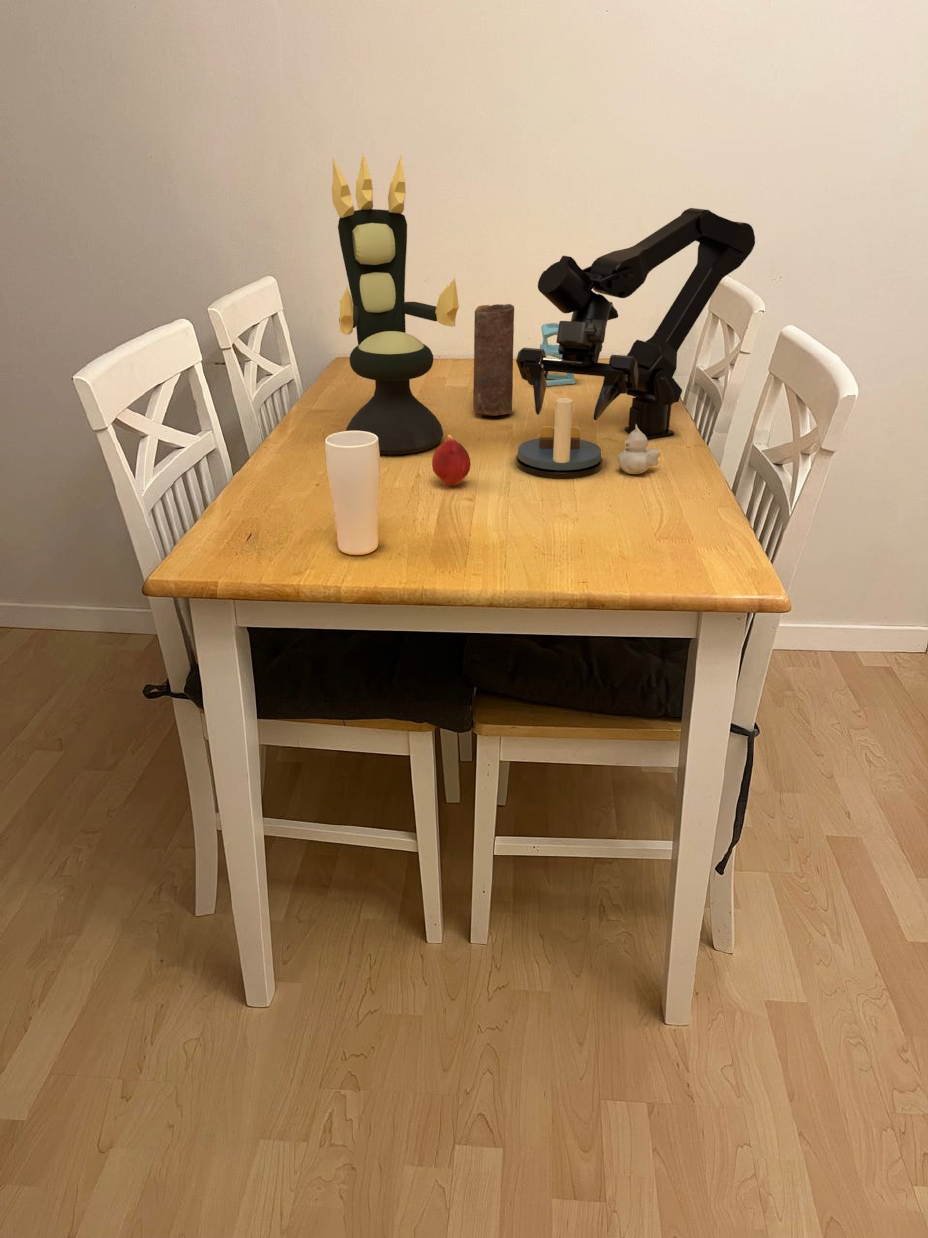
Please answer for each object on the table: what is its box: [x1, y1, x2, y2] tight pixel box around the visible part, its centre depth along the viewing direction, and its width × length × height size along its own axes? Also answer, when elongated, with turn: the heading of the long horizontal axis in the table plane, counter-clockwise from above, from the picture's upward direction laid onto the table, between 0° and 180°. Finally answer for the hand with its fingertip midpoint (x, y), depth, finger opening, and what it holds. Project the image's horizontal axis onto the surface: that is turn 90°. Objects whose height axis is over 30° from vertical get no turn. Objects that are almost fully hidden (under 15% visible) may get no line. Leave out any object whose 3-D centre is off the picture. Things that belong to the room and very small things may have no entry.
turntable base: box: [515, 454, 604, 480], centre depth 156 cm, size 14×14×1 cm
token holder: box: [517, 397, 602, 470], centre depth 153 cm, size 13×13×11 cm
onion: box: [431, 434, 471, 487], centre depth 146 cm, size 6×6×8 cm
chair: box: [539, 322, 576, 387], centre depth 199 cm, size 8×8×12 cm
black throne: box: [330, 152, 460, 456], centre depth 157 cm, size 19×22×45 cm
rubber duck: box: [617, 425, 661, 475], centre depth 151 cm, size 5×7×8 cm
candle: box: [472, 303, 515, 417], centre depth 176 cm, size 8×7×20 cm
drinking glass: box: [324, 430, 381, 556], centre depth 123 cm, size 7×7×15 cm
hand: (565, 415), depth 149 cm, fingers open, 9 cm apart
